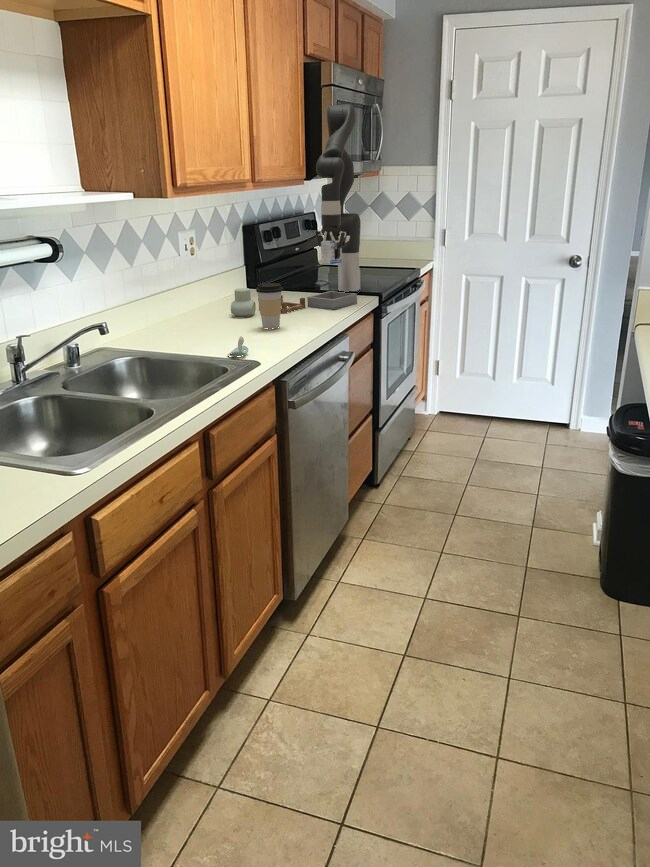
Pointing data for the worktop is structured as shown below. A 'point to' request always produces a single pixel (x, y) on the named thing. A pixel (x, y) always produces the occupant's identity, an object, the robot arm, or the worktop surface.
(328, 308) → the tray
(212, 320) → the worktop surface
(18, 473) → the worktop surface
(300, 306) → the holder
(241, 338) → the pacifier
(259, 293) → the coffee cup
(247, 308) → the air freshener
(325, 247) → the medicine box
